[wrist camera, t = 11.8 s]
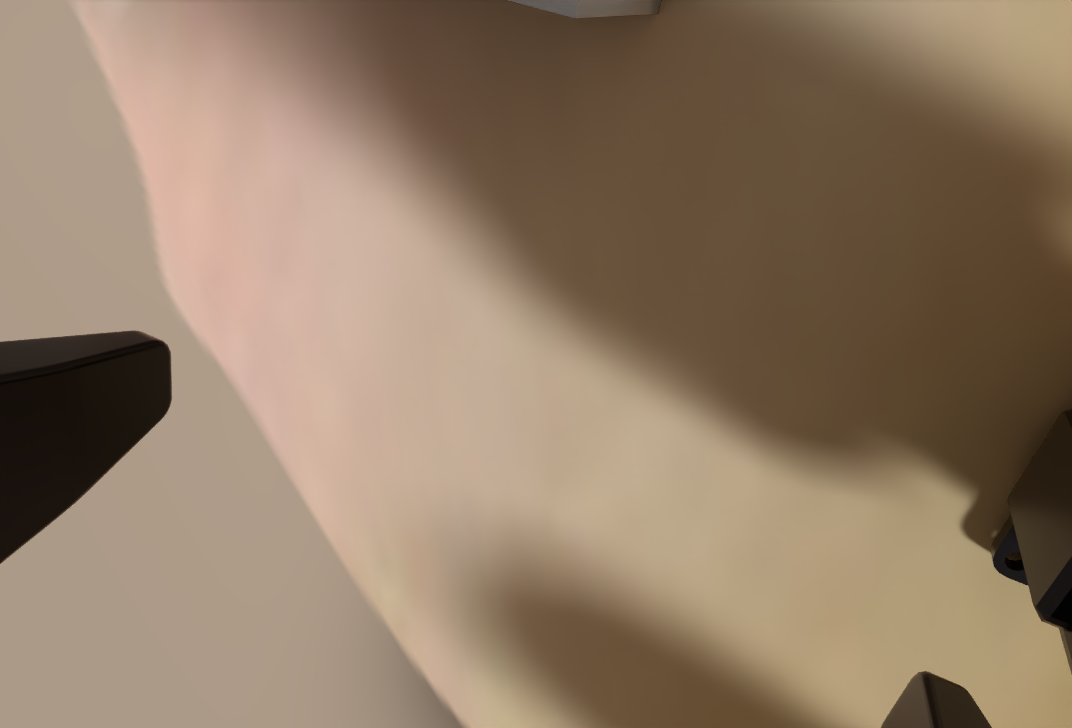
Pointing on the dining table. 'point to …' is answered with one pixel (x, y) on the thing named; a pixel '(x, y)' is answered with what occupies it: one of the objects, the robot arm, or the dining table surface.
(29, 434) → the robot arm
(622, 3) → the grey open box
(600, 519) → the dining table surface
